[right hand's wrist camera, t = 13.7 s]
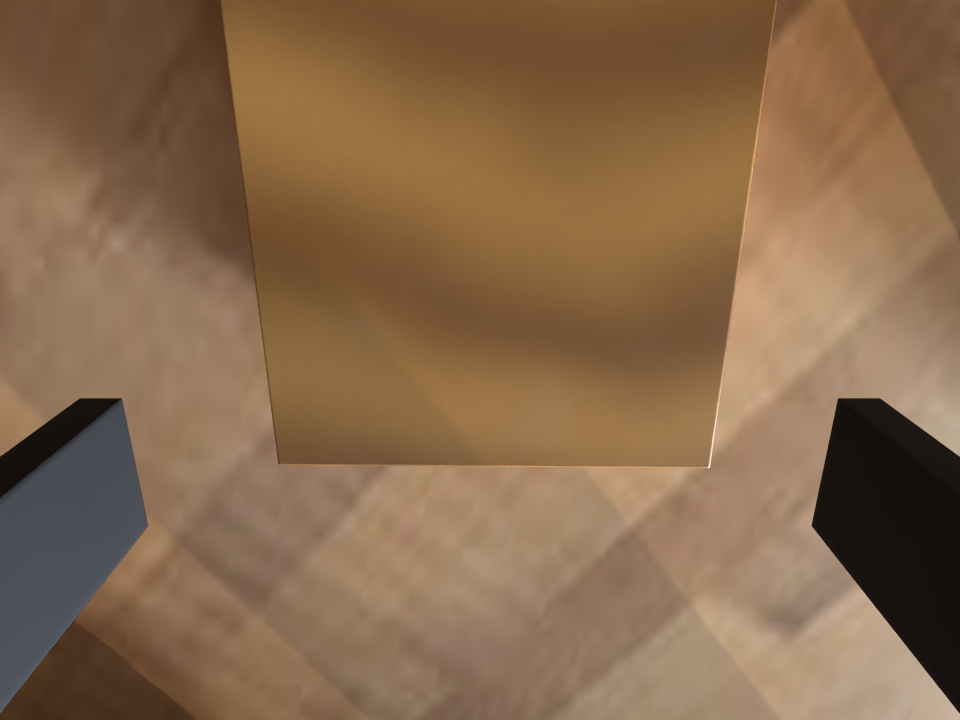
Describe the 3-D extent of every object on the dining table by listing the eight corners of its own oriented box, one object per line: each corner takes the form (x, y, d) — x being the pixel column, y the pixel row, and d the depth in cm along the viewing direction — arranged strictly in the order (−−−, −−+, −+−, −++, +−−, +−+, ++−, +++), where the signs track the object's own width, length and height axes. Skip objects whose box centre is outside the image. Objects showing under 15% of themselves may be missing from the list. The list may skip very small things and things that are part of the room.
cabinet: (284, -393, 18) (116, -790, 10) (713, -398, 18) (895, -805, 10) (343, 350, 26) (277, 465, 18) (641, 352, 26) (711, 469, 18)
